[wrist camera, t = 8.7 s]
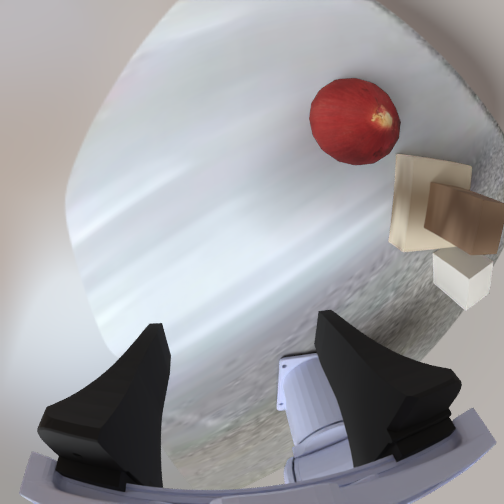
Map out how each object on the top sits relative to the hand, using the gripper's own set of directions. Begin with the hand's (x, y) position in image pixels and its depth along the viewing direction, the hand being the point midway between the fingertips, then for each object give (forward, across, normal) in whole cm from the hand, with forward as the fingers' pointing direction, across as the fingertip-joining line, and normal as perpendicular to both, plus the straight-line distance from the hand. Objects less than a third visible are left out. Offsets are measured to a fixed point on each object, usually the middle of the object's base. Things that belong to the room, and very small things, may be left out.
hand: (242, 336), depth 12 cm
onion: (+11, -8, -10) cm, 17 cm away
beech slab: (+11, -18, -4) cm, 21 cm away
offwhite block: (+10, -23, +3) cm, 25 cm away
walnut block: (+8, -18, -4) cm, 20 cm away
